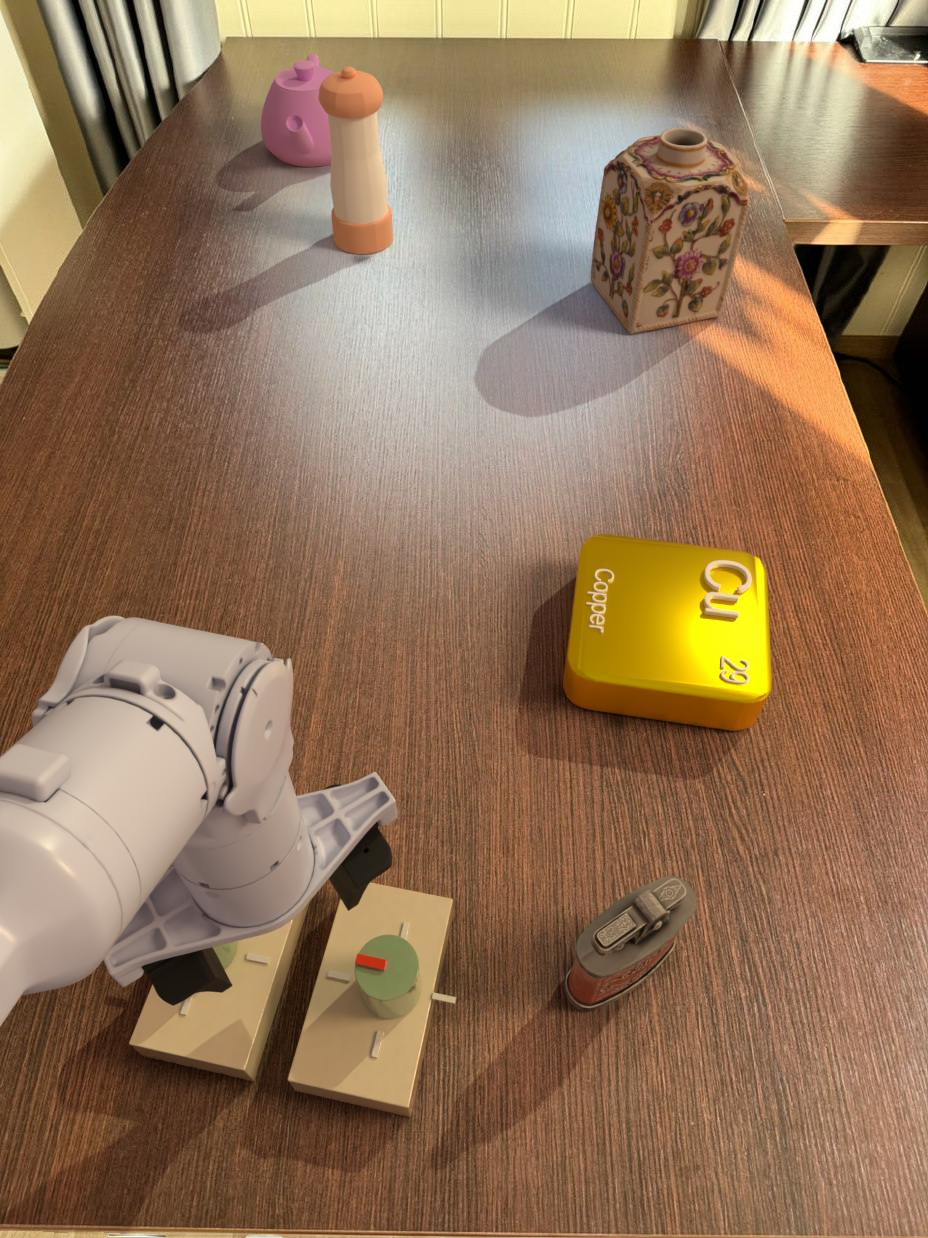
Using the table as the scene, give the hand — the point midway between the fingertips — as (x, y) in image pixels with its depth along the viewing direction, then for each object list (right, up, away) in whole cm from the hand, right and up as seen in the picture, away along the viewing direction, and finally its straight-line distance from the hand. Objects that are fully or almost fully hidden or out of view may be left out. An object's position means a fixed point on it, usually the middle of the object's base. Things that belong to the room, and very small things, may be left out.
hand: (283, 932), depth 49 cm
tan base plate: (-5, -5, +8) cm, 11 cm away
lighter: (+20, -5, +8) cm, 22 cm away
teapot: (-11, +82, +76) cm, 112 cm away
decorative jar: (+32, +54, +54) cm, 82 cm away
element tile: (+26, +15, +24) cm, 38 cm away
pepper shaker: (-2, +64, +62) cm, 89 cm away
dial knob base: (+5, -7, +7) cm, 10 cm away
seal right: (+6, -5, +4) cm, 9 cm away
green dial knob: (-6, -3, +6) cm, 9 cm away
